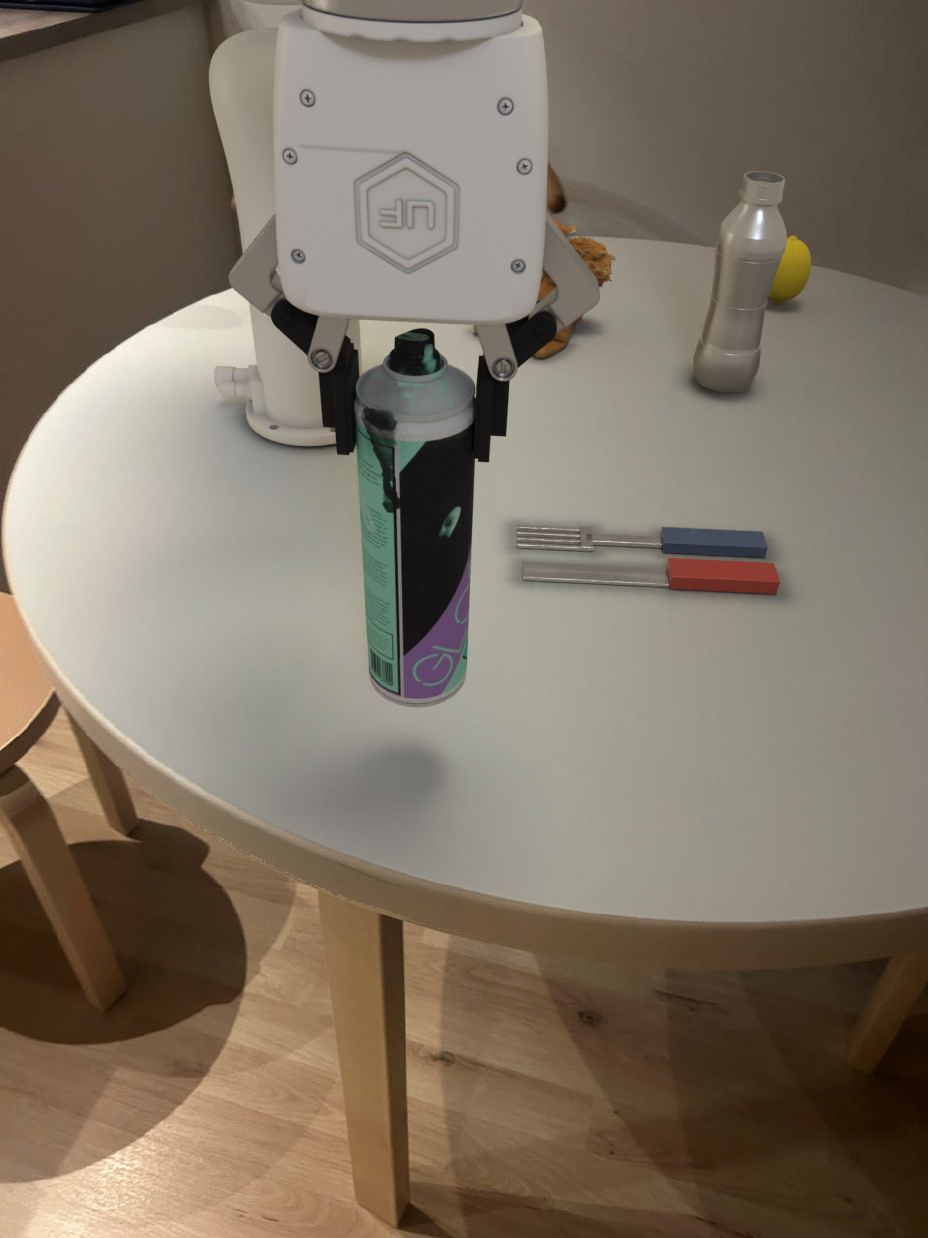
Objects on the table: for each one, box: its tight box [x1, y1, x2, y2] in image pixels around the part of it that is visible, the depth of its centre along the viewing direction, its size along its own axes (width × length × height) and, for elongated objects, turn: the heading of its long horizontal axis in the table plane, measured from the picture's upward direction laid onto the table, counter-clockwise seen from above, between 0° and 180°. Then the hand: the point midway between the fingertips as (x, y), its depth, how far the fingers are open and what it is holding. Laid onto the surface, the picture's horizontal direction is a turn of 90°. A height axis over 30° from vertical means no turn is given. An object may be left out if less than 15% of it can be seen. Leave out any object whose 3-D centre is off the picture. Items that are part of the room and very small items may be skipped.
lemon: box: [768, 235, 812, 305], centre depth 112 cm, size 6×6×8 cm
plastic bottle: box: [692, 170, 788, 393], centre depth 91 cm, size 6×7×20 cm
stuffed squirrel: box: [473, 216, 617, 359], centre depth 102 cm, size 10×14×13 cm
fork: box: [516, 524, 768, 559], centre depth 76 cm, size 20×3×1 cm, turn 87°
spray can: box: [354, 327, 476, 708], centre depth 47 cm, size 6×6×20 cm
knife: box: [522, 557, 781, 595], centre depth 72 cm, size 19×2×1 cm, turn 87°
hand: (416, 439), depth 44 cm, fingers closed on spray can, 5 cm apart
